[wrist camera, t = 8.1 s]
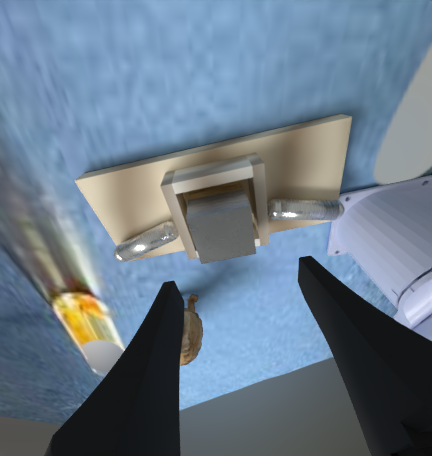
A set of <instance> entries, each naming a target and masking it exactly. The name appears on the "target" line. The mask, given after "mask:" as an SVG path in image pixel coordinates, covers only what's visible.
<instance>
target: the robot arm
mask: <svg viewBox="0 0 432 456" xmlns="http://www.w3.org/2000/svg"><path fill="white" fill-rule="evenodd" d="M347 197H348V198H347ZM346 198H347V199H346ZM338 201H340V202H341V203H342V204H343V205H344V208H345V212H344V214H343V216H342V217H341V218H339V219H338V220H334V221H332V224H331V230H330V237H329V243H328V249H327V253H328V255H329V256H335V255H340V254H345V253H349V254H350V255H351V256H352V257H353V259H354V260H355V261H356V262H357V263H358V264H359V266H360V267H361V268H362V269H363V270H364V271H365V272H366V274H367V275H368V276H369V277H370V278H371V279H372V281H373V282H374V283H375V284H376V285H377V286H378V287H379V289H380V290H381V291H382V292H383V293H384V294H385V296H386V297H387V298H388V299H389V300H390V301H391V302H392V304H393V305H394V306H395V307H396V308H397V309H398V312H397V314H396V315H395V316H394V317H393V318H394V319H395V320H394V319H393V318H391V317H389V316H388V315H386V314H385V313H383V312H382V311H380V310H379V309H377V308H376V307H374V306H373V305H371V304H370V303H368V302H367V301H366V300H364V299H363V298H361V297H360V296H359V295H357V294H356V293H355V292H353V291H352V290H351V289H349V288H348V287H347V286H346V285H344V284H343V283H342V282H341V281H339V280H338V279H337V278H336V277H335V276H333V275H332V274H331V273H330V272H329V271H327V270H326V269H325V268H324V267H323V266H322V265H321V264H320V263H318V262H317V261H316V260H315V259H314V258H313V257H312V256H306V257H300V258H299V271H298V283H299V286H300V288H301V291H302V293H303V296H304V298H305V300H306V302H307V304H308V306H309V308H310V310H311V312H312V314H313V316H314V318H315V319H316V321H317V323H318V325H319V327H320V329H321V331H322V333H323V335H324V336H325V338H326V341H327V343H328V345H329V347H330V349H331V352H332V354H333V356H334V359H335V361H336V363H337V366H338V368H339V371H340V373H341V376H342V378H343V381H344V383H345V386H346V388H347V391H348V393H349V396H350V398H351V401H352V404H353V406H354V409H355V411H356V415H357V417H358V420H359V423H360V426H361V428H362V431H363V434H364V437H365V439H366V442H367V445H368V448H369V451H370V453H371V455H372V456H432V175H430V176H425V177H420V178H416V179H411V180H406V181H401V182H396V183H391V184H387V185H382V186H377V187H372V188H367V189H363V190H358V191H353V192H348V193H343V194H340V195H339V199H338ZM183 328H184V300H183V298H182V296H181V294H180V292H179V290H178V288H177V286H176V284H175V281H169V282H164V283H163V284H162V287H161V289H160V291H159V293H158V295H157V297H156V299H155V301H154V302H153V304H152V306H151V308H150V310H149V312H148V314H147V315H146V317H145V319H144V321H143V323H142V324H141V326H140V328H139V329H138V331H137V333H136V334H135V336H134V337H133V339H132V341H131V342H130V344H129V345H128V347H127V348H126V350H125V351H124V352H123V354H122V355H121V357H120V358H119V359H118V361H117V362H116V364H115V365H114V366H113V367H112V369H111V370H110V371H109V373H108V374H107V375H106V377H105V378H104V379H103V380H102V382H101V383H100V384H99V385H98V386H97V387H96V389H95V390H94V391H93V392H92V393H91V395H90V396H89V397H88V398H87V399H86V401H85V402H84V403H83V404H82V405H81V406H80V407H79V408H78V409H77V411H76V412H75V413H74V414H73V415H72V416H71V417H70V418H69V419H68V420H67V421H66V422H65V423H64V425H63V426H62V427H61V428H60V429H59V430H58V431H57V432H56V433H55V434H54V435H53V437H52V439H51V441H50V443H49V446H48V448H47V450H46V453H45V455H44V456H180V431H179V369H180V356H181V347H182V337H183Z"/></svg>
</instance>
